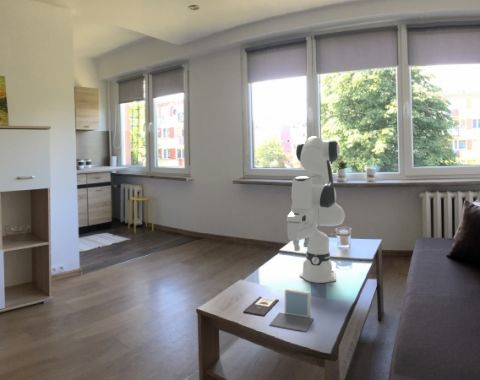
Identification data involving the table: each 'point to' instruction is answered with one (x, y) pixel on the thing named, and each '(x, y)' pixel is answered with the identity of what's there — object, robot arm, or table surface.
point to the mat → (292, 322)
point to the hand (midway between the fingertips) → (301, 248)
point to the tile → (297, 302)
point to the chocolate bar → (261, 306)
